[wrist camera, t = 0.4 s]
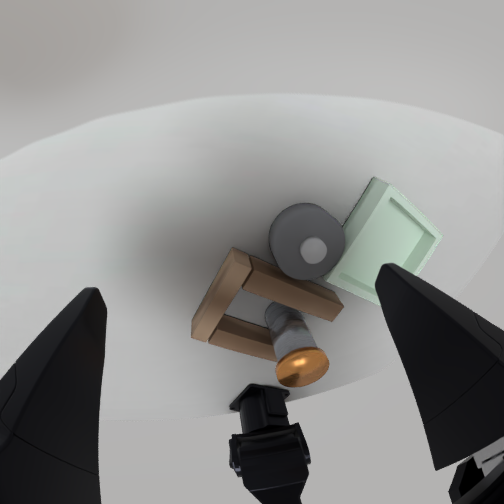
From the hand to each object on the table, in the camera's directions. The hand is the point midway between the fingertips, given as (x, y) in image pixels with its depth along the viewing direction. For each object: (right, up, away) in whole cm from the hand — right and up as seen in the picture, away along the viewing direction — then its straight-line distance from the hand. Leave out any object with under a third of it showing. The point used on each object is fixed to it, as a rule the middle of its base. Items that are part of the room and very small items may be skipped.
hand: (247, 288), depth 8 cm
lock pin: (+3, -5, +19) cm, 20 cm away
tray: (+13, +2, +17) cm, 22 cm away
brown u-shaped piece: (+1, -4, +19) cm, 19 cm away
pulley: (+5, +2, +16) cm, 16 cm away
